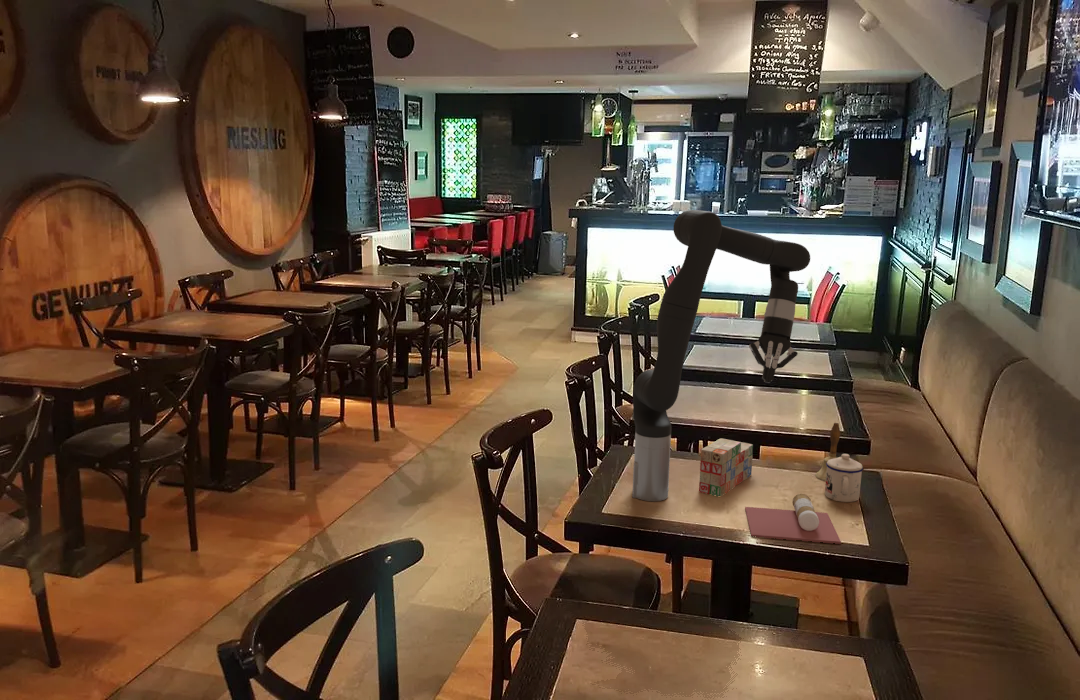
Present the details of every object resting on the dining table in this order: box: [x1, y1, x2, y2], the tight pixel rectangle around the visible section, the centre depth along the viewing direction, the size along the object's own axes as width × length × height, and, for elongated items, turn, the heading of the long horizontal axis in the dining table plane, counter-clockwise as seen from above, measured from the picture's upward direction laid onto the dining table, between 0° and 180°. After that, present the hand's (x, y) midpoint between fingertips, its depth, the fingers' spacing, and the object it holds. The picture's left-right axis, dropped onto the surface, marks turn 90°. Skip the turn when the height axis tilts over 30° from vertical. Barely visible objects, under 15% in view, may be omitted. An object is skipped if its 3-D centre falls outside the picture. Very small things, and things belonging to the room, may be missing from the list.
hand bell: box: [815, 422, 841, 482], centre depth 226 cm, size 8×8×16 cm
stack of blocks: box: [698, 438, 754, 497], centre depth 221 cm, size 21×6×12 cm, turn 143°
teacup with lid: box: [824, 453, 864, 503], centre depth 211 cm, size 12×9×12 cm
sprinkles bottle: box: [792, 493, 819, 531], centre depth 196 cm, size 5×5×14 cm
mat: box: [744, 506, 842, 545], centre depth 194 cm, size 20×17×1 cm
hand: (767, 382), depth 212 cm, fingers closed
